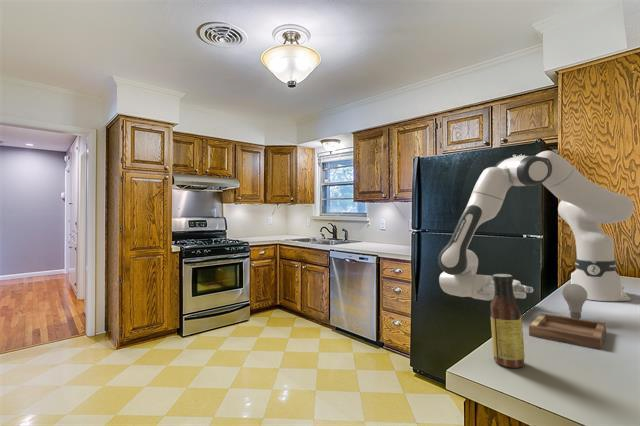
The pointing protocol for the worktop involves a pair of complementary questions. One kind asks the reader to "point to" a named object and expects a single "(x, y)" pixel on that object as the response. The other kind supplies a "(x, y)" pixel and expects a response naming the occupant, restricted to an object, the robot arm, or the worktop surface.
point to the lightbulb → (575, 299)
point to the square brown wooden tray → (568, 330)
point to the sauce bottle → (506, 324)
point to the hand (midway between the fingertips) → (529, 292)
